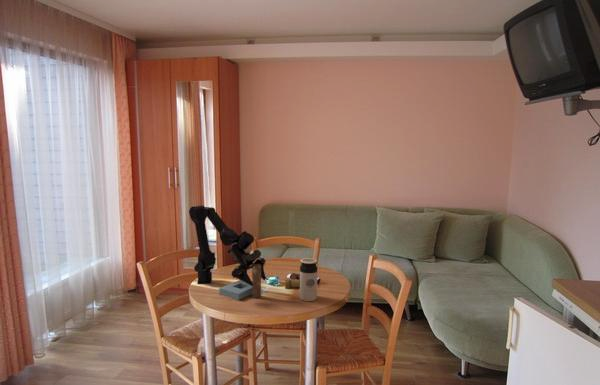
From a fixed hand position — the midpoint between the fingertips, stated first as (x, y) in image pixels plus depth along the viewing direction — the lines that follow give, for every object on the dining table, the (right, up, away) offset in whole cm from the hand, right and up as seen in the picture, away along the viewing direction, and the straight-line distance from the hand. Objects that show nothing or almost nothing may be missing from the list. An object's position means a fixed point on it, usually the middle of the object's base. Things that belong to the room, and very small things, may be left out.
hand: (258, 282), depth 174 cm
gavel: (+16, -6, +23) cm, 28 cm away
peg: (-1, -7, +2) cm, 7 cm away
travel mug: (+23, -8, 0) cm, 24 cm away
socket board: (-10, -6, +7) cm, 13 cm away
